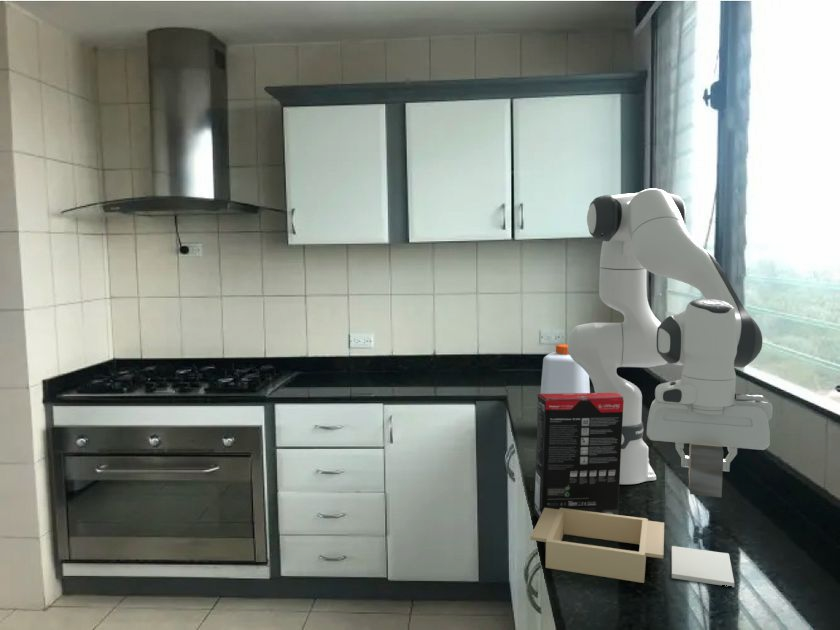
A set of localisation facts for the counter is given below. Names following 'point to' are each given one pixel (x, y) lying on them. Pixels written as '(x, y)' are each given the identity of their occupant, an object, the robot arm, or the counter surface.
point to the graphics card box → (578, 452)
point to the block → (706, 469)
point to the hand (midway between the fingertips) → (704, 468)
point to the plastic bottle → (563, 374)
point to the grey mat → (702, 566)
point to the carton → (598, 557)
